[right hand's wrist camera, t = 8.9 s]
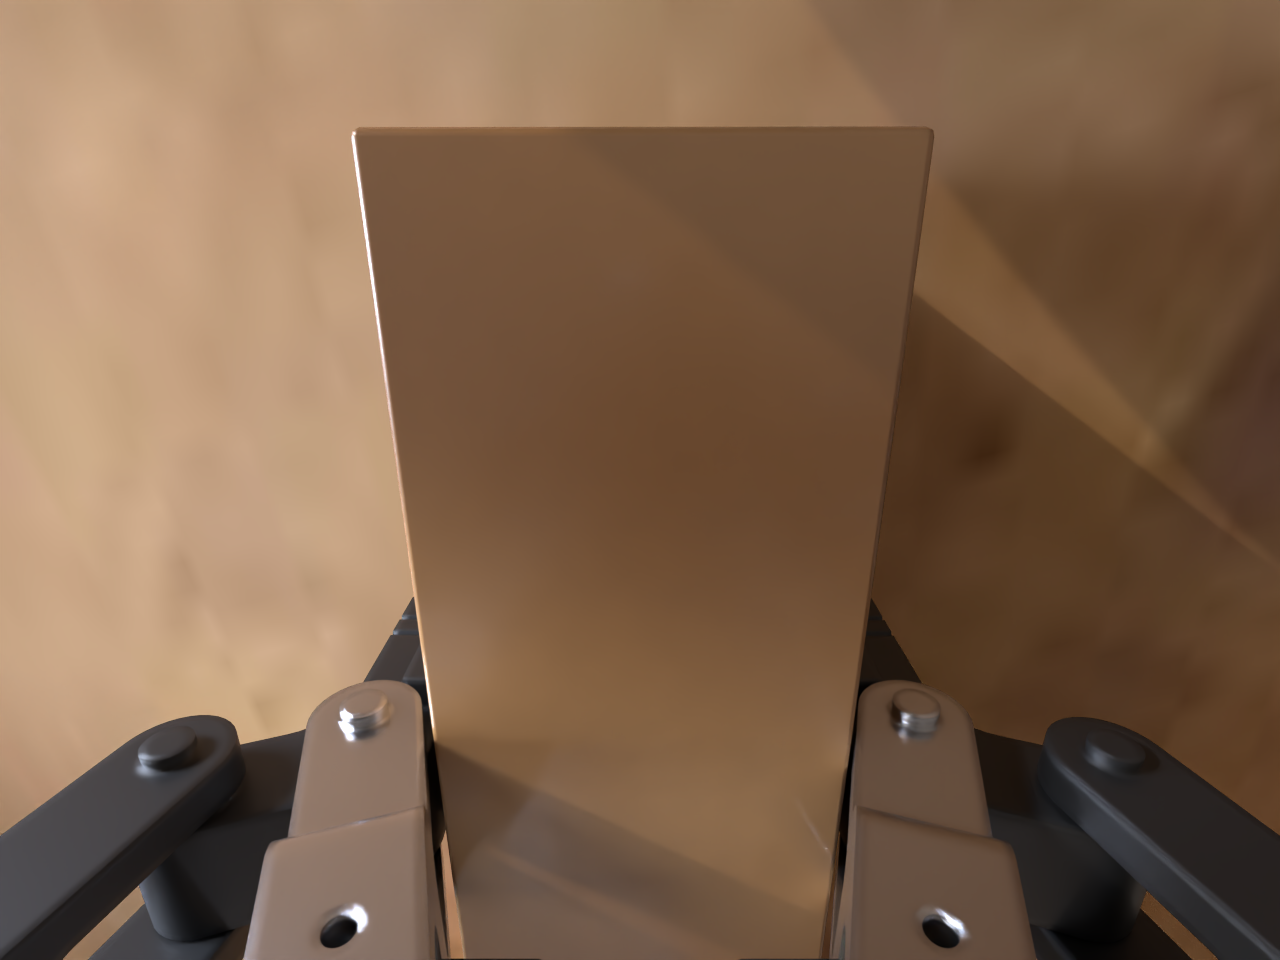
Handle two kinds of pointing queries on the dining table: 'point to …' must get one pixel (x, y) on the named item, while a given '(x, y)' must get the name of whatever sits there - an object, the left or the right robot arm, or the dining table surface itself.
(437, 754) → the beam
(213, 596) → the dining table surface
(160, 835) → the right robot arm
